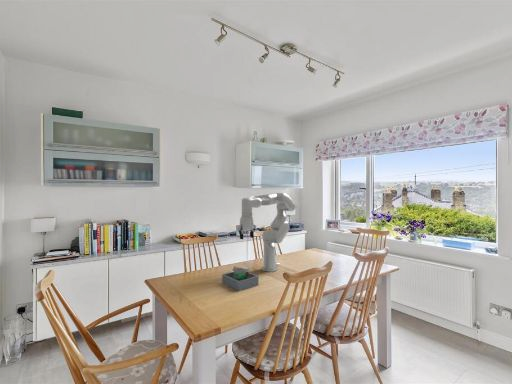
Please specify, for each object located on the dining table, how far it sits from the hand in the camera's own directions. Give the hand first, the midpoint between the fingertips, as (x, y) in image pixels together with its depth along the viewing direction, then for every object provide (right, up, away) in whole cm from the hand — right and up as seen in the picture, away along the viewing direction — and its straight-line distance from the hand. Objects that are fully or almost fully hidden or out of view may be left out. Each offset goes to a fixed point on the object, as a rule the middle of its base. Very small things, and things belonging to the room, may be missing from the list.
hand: (246, 238), depth 199 cm
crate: (-4, -29, -15) cm, 32 cm away
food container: (-4, -28, -15) cm, 32 cm away
